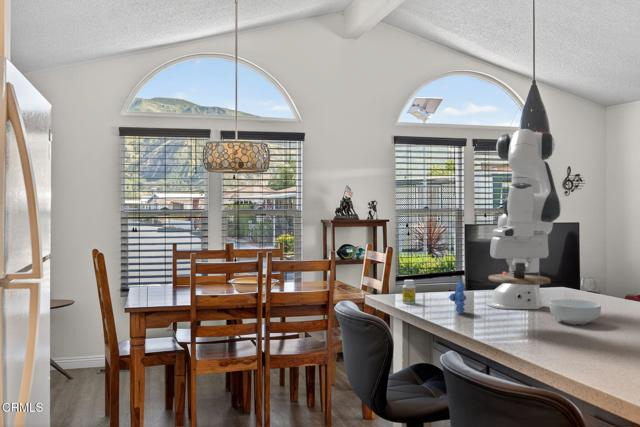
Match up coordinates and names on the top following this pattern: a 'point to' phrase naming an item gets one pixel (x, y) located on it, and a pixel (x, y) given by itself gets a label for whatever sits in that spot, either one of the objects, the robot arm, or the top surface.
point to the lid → (519, 277)
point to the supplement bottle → (409, 292)
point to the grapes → (459, 297)
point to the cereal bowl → (575, 310)
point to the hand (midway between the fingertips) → (519, 271)
